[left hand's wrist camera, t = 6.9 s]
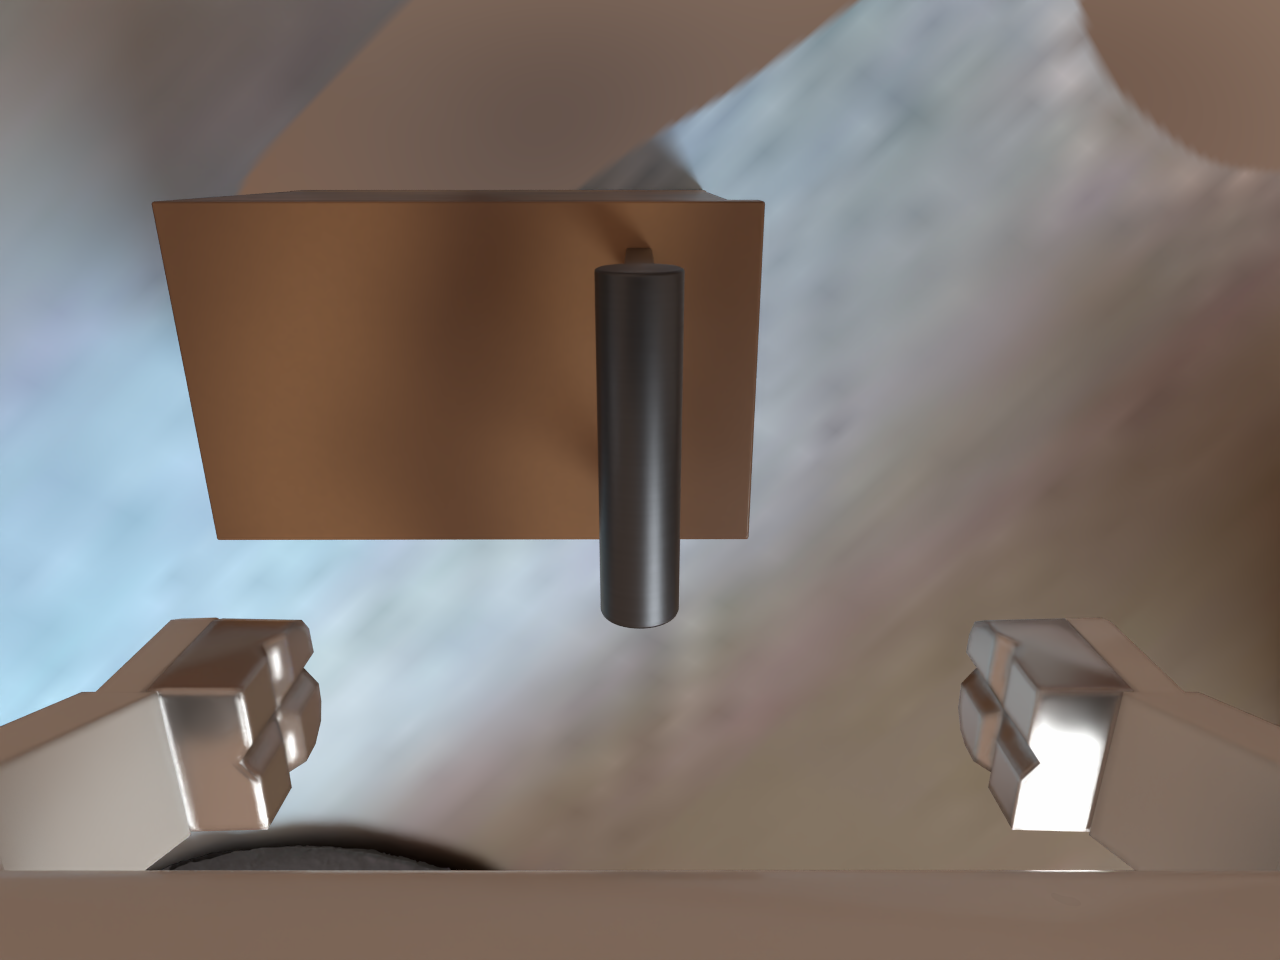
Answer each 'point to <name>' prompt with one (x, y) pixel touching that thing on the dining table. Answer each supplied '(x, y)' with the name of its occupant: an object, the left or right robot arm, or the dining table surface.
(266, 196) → the chest
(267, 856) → the round grey tray
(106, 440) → the dining table surface
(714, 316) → the lid
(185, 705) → the left robot arm
